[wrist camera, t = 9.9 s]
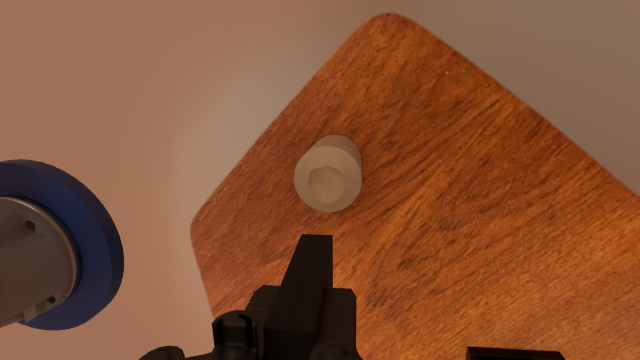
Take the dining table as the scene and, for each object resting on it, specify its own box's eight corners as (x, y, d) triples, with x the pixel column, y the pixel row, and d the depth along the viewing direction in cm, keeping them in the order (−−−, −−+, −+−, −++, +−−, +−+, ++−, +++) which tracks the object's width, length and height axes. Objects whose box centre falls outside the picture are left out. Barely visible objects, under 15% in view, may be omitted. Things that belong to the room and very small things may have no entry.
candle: (299, 154, 34) (275, 176, 25) (341, 123, 33) (333, 134, 23) (329, 194, 35) (318, 231, 25) (371, 166, 34) (376, 193, 24)
